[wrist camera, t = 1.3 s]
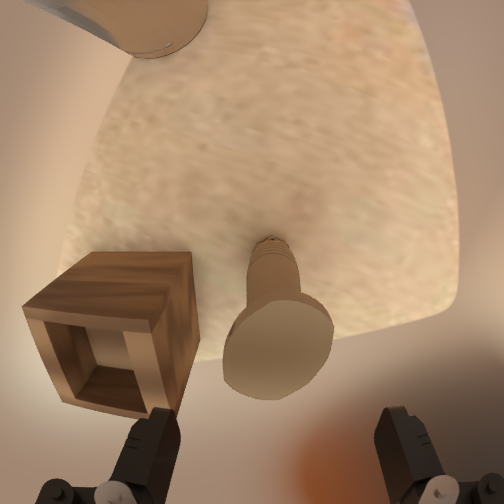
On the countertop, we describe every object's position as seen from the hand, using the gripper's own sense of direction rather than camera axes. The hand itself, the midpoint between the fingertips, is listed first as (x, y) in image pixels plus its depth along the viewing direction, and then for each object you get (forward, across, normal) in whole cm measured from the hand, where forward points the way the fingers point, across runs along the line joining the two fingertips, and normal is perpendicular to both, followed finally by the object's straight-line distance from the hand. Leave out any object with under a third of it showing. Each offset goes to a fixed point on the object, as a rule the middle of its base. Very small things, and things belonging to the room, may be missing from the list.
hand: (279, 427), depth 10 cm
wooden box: (+20, +13, +5) cm, 24 cm away
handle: (+20, 0, 0) cm, 20 cm away
